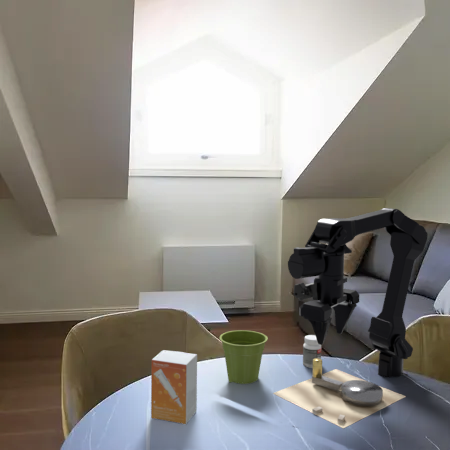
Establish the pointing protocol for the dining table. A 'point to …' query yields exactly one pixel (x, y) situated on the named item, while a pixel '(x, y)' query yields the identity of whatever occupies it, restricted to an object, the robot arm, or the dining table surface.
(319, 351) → the pill bottle
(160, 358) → the small box
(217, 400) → the dining table surface
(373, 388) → the lever
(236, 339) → the plant pot
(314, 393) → the stand board
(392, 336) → the robot arm
